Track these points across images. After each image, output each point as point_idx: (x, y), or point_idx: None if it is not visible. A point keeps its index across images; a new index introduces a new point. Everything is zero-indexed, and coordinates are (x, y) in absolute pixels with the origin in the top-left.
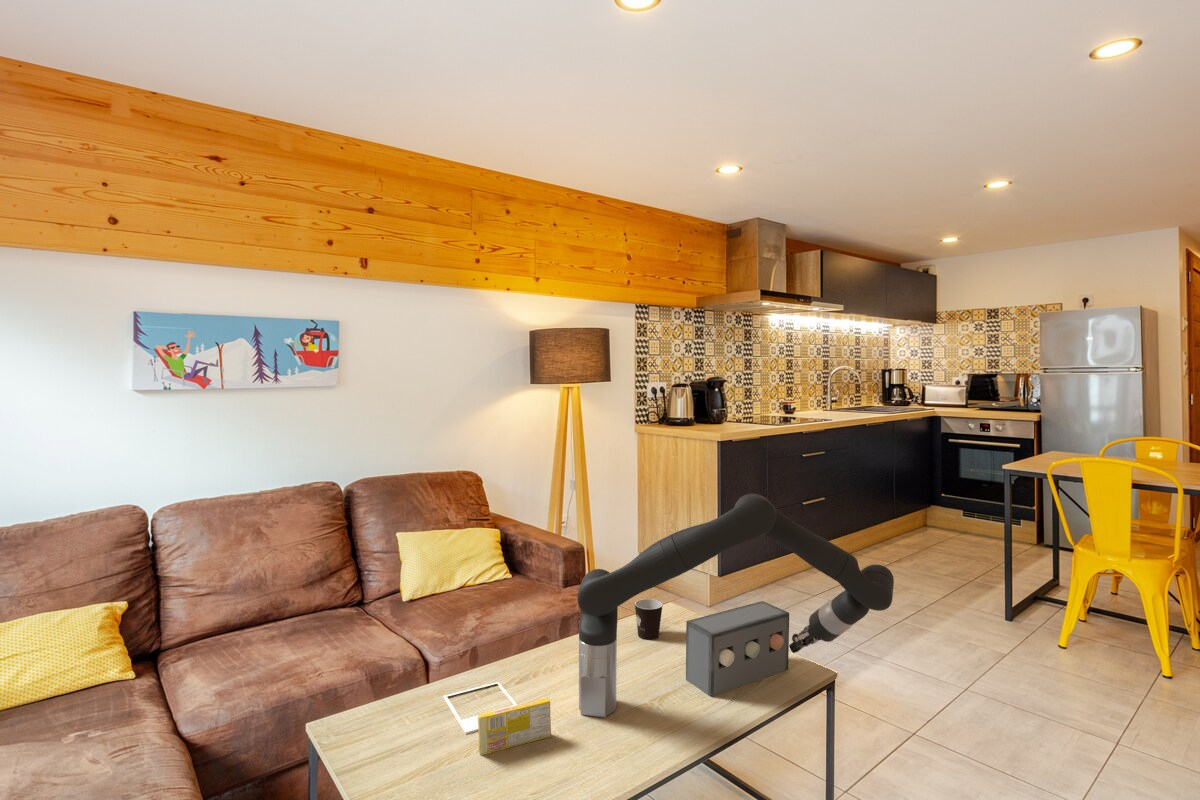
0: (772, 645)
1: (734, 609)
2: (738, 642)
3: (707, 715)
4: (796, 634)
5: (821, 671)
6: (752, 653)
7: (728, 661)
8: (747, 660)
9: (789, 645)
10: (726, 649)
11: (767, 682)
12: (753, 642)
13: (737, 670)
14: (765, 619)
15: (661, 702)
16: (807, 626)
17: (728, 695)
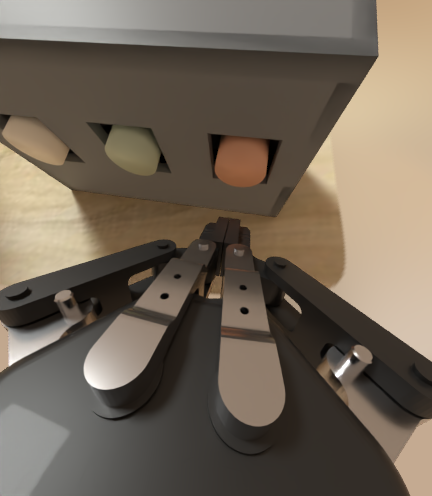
0: (215, 169)
1: None
2: (52, 113)
3: (13, 224)
4: (3, 314)
5: (334, 269)
6: (128, 164)
7: (42, 155)
8: None
9: (218, 218)
10: (16, 120)
11: (192, 221)
12: (121, 136)
13: (112, 176)
14: (162, 45)
15: (7, 154)
16: (84, 374)
17: (96, 205)
